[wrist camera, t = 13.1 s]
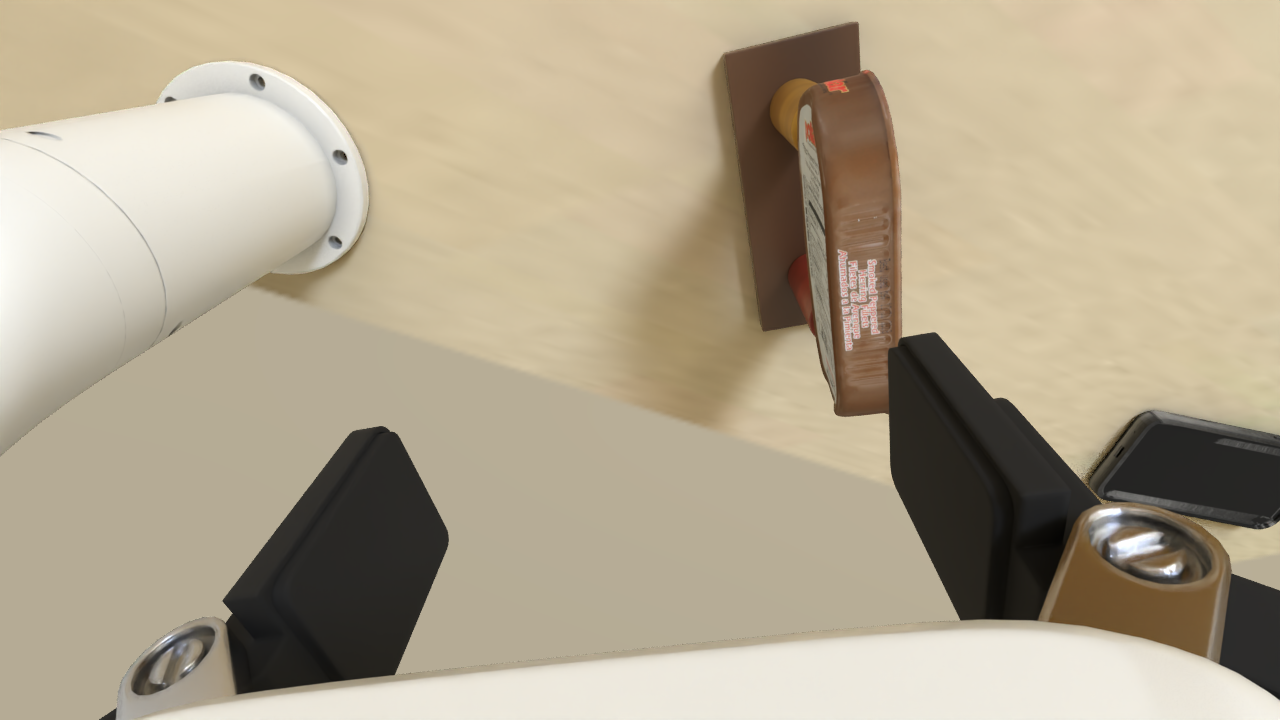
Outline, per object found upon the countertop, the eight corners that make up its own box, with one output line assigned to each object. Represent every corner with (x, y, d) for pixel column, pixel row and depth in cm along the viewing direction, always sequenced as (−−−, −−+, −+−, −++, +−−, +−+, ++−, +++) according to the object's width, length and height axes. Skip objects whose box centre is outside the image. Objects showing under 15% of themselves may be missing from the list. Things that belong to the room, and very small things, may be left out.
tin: (863, 356, 33) (918, 451, 26) (805, 365, 34) (843, 461, 26) (850, 60, 26) (921, 77, 19) (777, 77, 27) (818, 100, 19)
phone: (1268, 531, 47) (1091, 497, 46) (1255, 521, 48) (1082, 487, 47) (1347, 454, 43) (1155, 415, 42) (1332, 444, 44) (1144, 406, 43)
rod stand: (760, 324, 41) (778, 384, 34) (722, 53, 33) (737, 61, 26) (865, 305, 40) (905, 363, 33) (852, 21, 32) (902, 22, 25)
